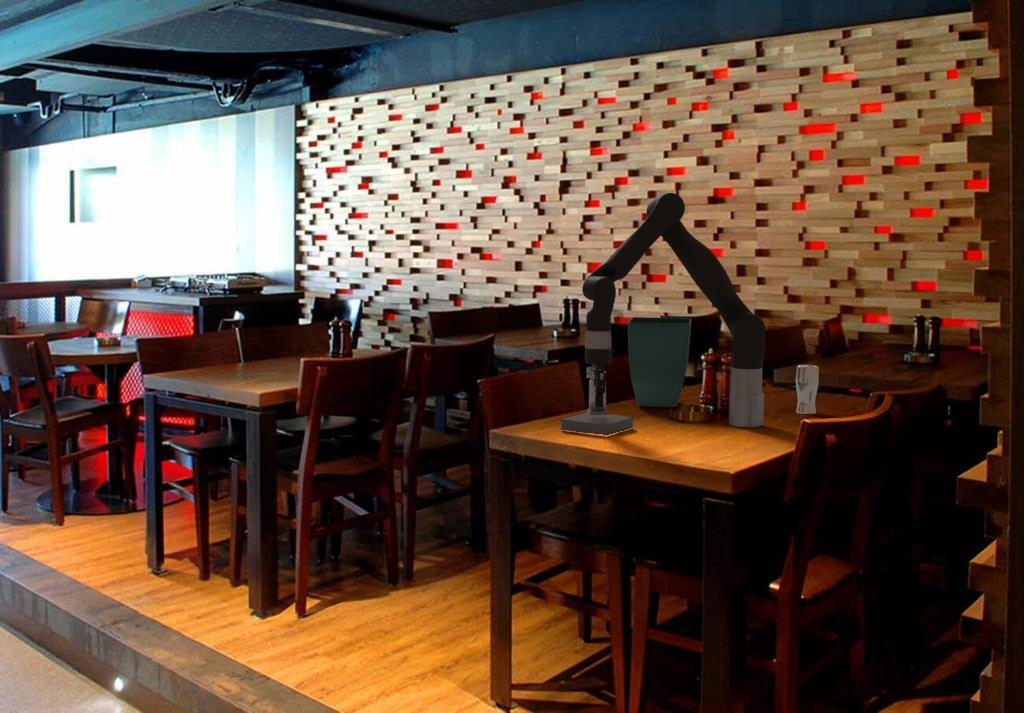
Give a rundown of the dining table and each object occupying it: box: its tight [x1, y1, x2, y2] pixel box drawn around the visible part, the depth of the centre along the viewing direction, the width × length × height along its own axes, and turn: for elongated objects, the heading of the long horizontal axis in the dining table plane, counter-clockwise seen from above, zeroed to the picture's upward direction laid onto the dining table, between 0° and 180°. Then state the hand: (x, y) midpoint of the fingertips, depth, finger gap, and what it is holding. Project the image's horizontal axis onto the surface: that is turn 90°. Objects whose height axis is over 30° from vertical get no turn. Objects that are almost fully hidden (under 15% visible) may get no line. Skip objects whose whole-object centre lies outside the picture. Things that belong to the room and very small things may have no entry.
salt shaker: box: [586, 374, 608, 415], centre depth 293 cm, size 5×5×11 cm
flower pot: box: [627, 316, 693, 408], centre depth 337 cm, size 20×20×28 cm
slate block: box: [560, 412, 634, 435], centre depth 294 cm, size 15×15×4 cm
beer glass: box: [795, 364, 820, 415], centre depth 323 cm, size 7×7×15 cm
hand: (597, 405), depth 293 cm, fingers closed on salt shaker, 4 cm apart
